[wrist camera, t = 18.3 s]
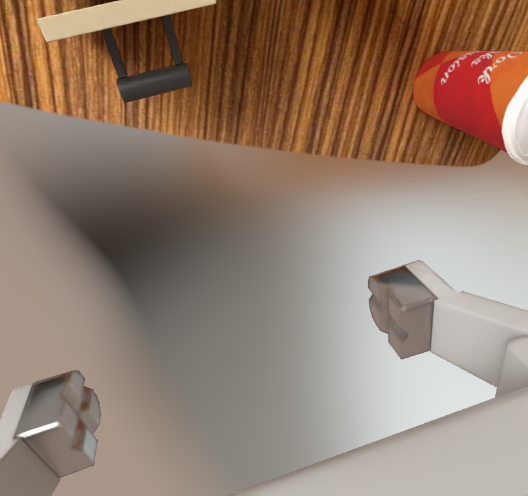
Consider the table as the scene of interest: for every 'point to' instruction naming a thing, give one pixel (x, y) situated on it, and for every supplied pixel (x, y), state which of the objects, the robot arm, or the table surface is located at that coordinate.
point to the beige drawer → (104, 18)
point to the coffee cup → (479, 96)
